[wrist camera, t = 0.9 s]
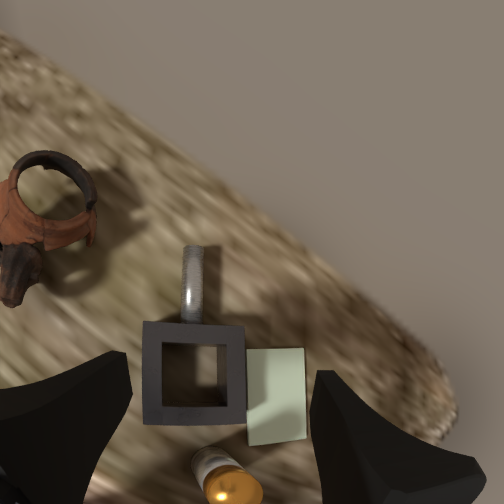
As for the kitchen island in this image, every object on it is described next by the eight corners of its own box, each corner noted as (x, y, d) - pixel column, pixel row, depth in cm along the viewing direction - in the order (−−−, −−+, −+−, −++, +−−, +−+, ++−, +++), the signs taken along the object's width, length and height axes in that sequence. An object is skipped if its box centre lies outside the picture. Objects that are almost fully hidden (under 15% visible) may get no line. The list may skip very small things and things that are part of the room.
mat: (304, 437, 23) (306, 438, 22) (247, 444, 21) (249, 446, 21) (301, 348, 26) (303, 347, 25) (245, 349, 24) (246, 349, 24)
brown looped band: (1, 195, 21) (18, 127, 17) (83, 224, 28) (117, 167, 23) (-34, 314, 15) (-42, 259, 11) (72, 341, 21) (104, 302, 17)
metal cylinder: (231, 479, 20) (263, 513, 13) (191, 482, 19) (210, 520, 12) (230, 445, 21) (262, 471, 15) (189, 446, 20) (207, 476, 14)
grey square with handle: (234, 417, 22) (246, 423, 19) (143, 416, 20) (143, 424, 17) (232, 259, 26) (242, 246, 24) (148, 251, 24) (149, 236, 22)
